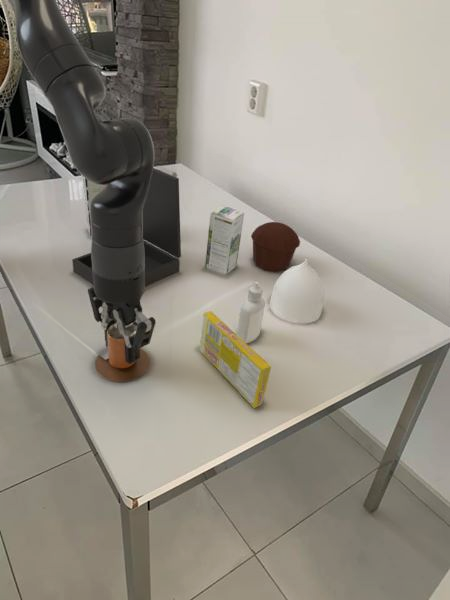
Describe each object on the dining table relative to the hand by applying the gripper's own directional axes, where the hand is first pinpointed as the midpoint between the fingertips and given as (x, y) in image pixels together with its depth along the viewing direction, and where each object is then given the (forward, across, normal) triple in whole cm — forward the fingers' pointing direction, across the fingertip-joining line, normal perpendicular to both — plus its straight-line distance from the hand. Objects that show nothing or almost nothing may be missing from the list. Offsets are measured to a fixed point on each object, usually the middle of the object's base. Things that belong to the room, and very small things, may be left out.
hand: (122, 352), depth 75 cm
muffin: (+3, -4, +49) cm, 49 cm away
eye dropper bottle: (+3, +10, +22) cm, 24 cm away
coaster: (+2, 0, 0) cm, 2 cm away
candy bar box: (+3, -41, +29) cm, 50 cm away
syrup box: (+3, -10, +37) cm, 38 cm away
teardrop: (+3, +11, +37) cm, 39 cm away
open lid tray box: (+2, -22, +19) cm, 29 cm away
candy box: (+3, +14, +11) cm, 18 cm away
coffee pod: (+1, 0, 0) cm, 1 cm away
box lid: (-11, -22, +27) cm, 36 cm away
